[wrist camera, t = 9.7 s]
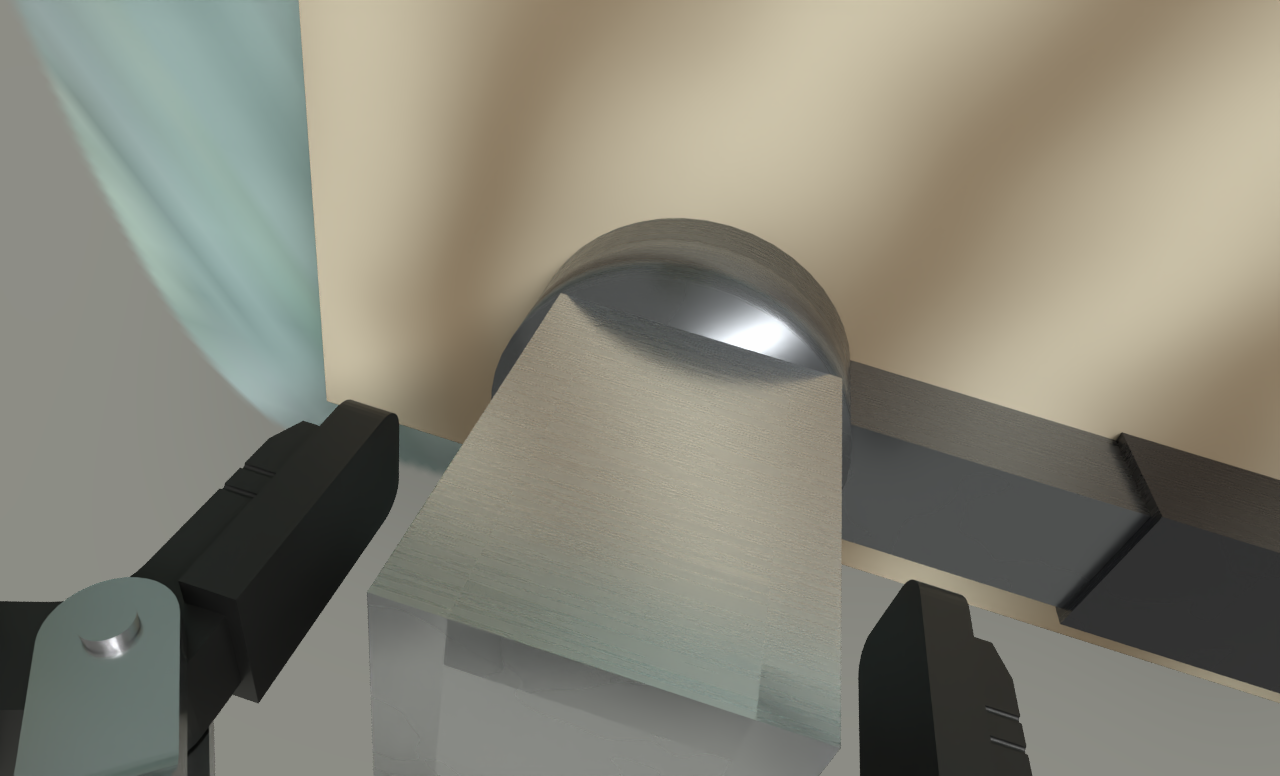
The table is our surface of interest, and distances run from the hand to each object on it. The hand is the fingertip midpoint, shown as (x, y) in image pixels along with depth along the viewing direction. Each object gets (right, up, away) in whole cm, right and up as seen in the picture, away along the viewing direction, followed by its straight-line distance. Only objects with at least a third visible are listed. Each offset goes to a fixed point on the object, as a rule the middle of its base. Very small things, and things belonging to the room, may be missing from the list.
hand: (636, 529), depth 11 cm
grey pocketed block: (0, +1, +2) cm, 2 cm away
